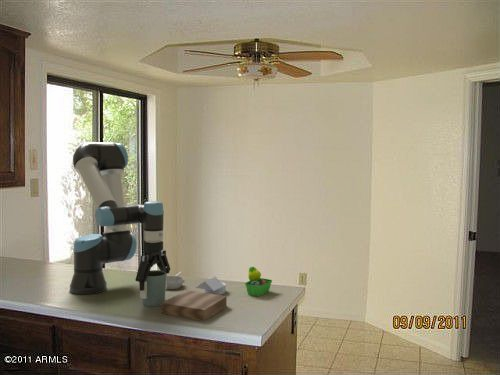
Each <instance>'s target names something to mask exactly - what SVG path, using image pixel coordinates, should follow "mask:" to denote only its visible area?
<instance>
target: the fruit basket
mask: <svg viewBox="0 0 500 375" xmlns="http://www.w3.org/2000/svg"><path fill="white" fill-rule="evenodd" d="M247 276H248V279H249V281H246V282H244V285H245V288H246V291H247V294H248V295H249V296H253V297H257V296H258V297H260V296H262V295H265V294H266V293H269V292H270V288H271V284H272V282H273V280H272V279H268V278H263V277H261V276H262V274H261V272H260V271H259V270H258V269H257V268H256V267H255V266H249V268H248V274H247Z"/></svg>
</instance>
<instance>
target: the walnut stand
mask: <svg viewBox="0 0 500 375" xmlns="http://www.w3.org/2000/svg"><path fill="white" fill-rule="evenodd" d="M227 298H228V296H226V295H223V294H221V295H215V294H209V293H205V292H200V291H195V290H189V289H187V290H185V291H182V292H180V293H179V294H177V295H175V296H172V297H170V298H168V299H165V301H164V302H162V305H161V314H164V315H169V316H175V317H180V318H186V319H192V320H198V321H204V322H205V321H206V320H208V319H209V318H211V317H212V316H214V315H215V314H217V313H218V312H220V311H221V310H224V308H226V307H227Z"/></svg>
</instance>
